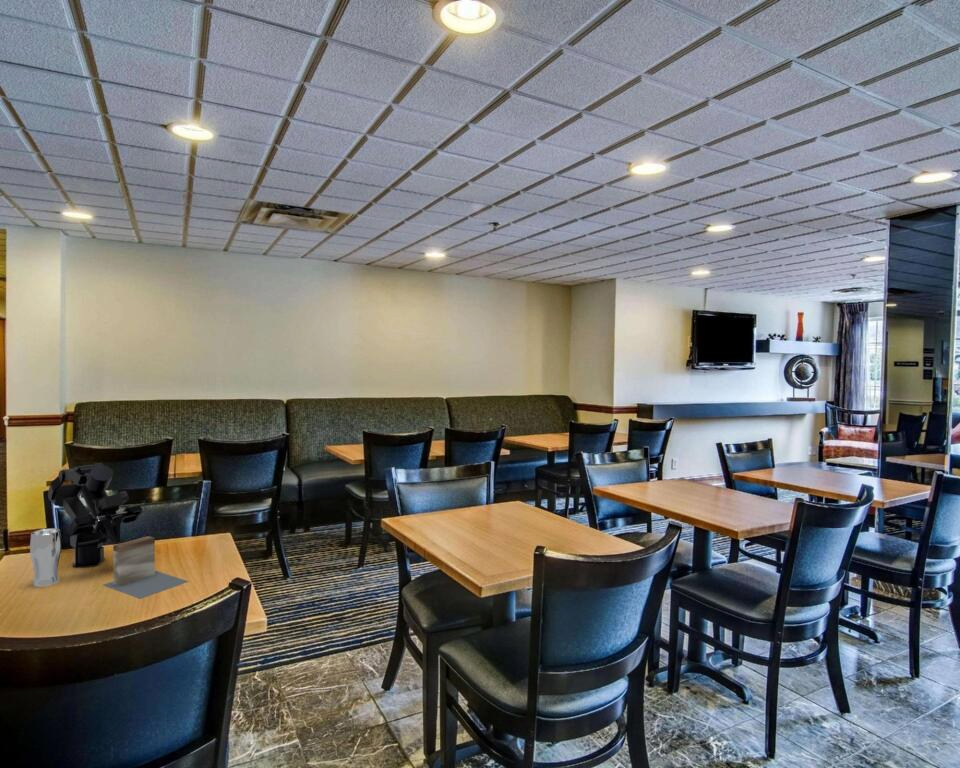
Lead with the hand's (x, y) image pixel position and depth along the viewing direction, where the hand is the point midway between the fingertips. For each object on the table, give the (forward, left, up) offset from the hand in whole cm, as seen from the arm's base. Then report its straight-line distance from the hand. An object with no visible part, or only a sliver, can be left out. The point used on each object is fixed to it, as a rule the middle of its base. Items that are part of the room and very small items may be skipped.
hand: (118, 542), depth 168 cm
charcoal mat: (+10, -8, -10) cm, 16 cm away
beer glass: (-17, -4, -10) cm, 20 cm away
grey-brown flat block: (+6, -5, -9) cm, 12 cm away
